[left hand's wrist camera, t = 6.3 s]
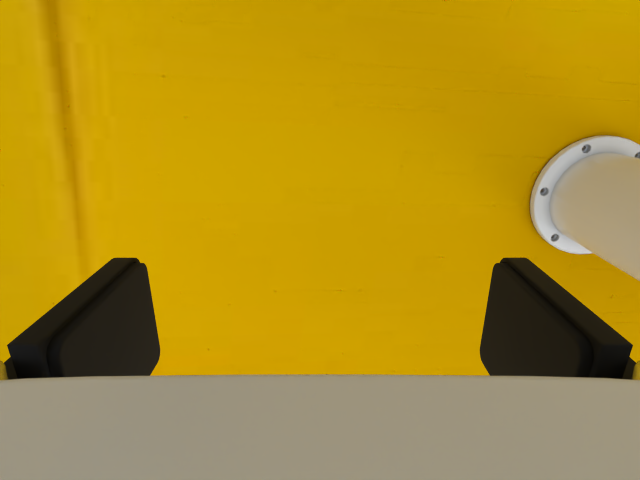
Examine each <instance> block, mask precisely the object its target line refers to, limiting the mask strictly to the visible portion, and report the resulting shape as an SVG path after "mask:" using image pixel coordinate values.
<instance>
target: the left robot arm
mask: <svg viewBox="0 0 640 480" xmlns="http://www.w3.org/2000/svg"><path fill="white" fill-rule="evenodd" d="M582 148H583V149H582ZM541 189H542V191H541ZM540 191H541V192H540ZM530 214H531V218H532V222H533V224H534V226H535V228H536V230H537V232H538V233H539V234H540V236H541V237H542V238H543V239H544V240H545V241H547V242H548V243H549V244H551V245H552V246H554V247H556V248H557V249H559V250H562V251H565V252H568V253H575V254H590V253H594V254H596V255H598V256H599V257H601V258H602V259H604V260H606V261H607V262H609V263H611V264H612V265H614V266H616V267H617V268H619V269H621V270H622V271H624V272H626V273H627V274H629V275H631V276H632V277H634V278H636V279H637V280H639V281H640V145H639V144H637V143H635V142H633V141H631V140H629V139H625V138H621V137H616V136H608V135H605V136H593V137H589V138H585V139H582V140H580V141H577V142H575V143H573V144H571V145H569V146H567V147H566V148H564V149H563V150H561V151H560V152H559V153H558V154H556V155H555V156H554V157H553V158H552V159H551V160H550V161H549V162H548V163H547V165H546V166H545V167H544V168H543V169H542V171H541V173H540V175H539V176H538V178H537V180H536V182H535V185H534V187H533V190H532V194H531V200H530ZM7 346H8V349H9V353H10V356H11V357H10V358H9V359H8V360H7V361H6V362H4V363H3V362H2V361H0V480H640V361H638V362H637V363H636V362H634V361H633V360H632V359H631V358H630V357H629V356H630V353H631V349H632V346H633V345H632V344H631V343H630V342H628V341H627V340H626V339H625V338H624V337H622V336H621V335H620V334H619V333H617V332H616V331H615V330H614V329H613V328H611V327H610V326H609V325H608V324H606V323H605V322H604V321H603V320H602V319H600V318H599V317H598V316H597V315H596V314H594V313H593V312H592V311H591V310H589V309H588V308H587V307H586V306H585V305H583V304H582V303H581V302H580V301H578V300H577V299H576V298H575V297H574V296H572V295H571V294H570V293H569V292H568V291H566V290H565V289H564V288H563V287H561V286H560V285H559V284H558V283H557V282H555V281H554V280H553V279H552V278H550V277H549V276H548V275H547V274H546V273H544V272H543V271H542V270H541V269H540V268H538V267H537V266H536V265H535V264H533V263H532V262H531V261H530V260H529V259H527V258H503V259H502V260H501V262H500V263H496V264H495V265H494V267H493V272H492V278H491V284H490V290H489V296H488V302H487V308H486V315H485V321H484V327H483V333H482V339H481V345H480V357H481V360H482V363H483V364H484V366H485V368H486V369H487V371H488V373H489V374H490V376H461V375H176V376H150V374H151V373H152V371H153V369H154V368H155V366H156V364H157V363H158V360H159V356H160V345H159V339H158V333H157V327H156V321H155V315H154V308H153V302H152V296H151V290H150V284H149V278H148V272H147V267H146V265H145V264H144V263H140V262H139V260H138V259H137V258H113V259H111V260H110V261H109V262H108V263H107V264H105V265H104V266H103V267H102V268H100V269H99V270H98V271H97V272H96V273H94V274H93V275H92V276H91V277H90V278H88V279H87V280H86V281H85V282H83V283H82V284H81V285H80V286H79V287H77V288H76V289H75V290H74V291H72V292H71V293H70V294H69V295H68V296H66V297H65V298H64V299H63V300H62V301H60V302H59V303H58V304H57V305H55V306H54V307H53V308H52V309H51V310H49V311H48V312H47V313H46V314H44V315H43V316H42V317H41V318H40V319H38V320H37V321H36V322H35V323H34V324H32V325H31V326H30V327H29V328H27V329H26V330H25V331H24V332H23V333H21V334H20V335H19V336H18V337H16V338H15V339H14V340H13V341H12V342H10V343H9V344H8V345H7Z"/></svg>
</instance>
